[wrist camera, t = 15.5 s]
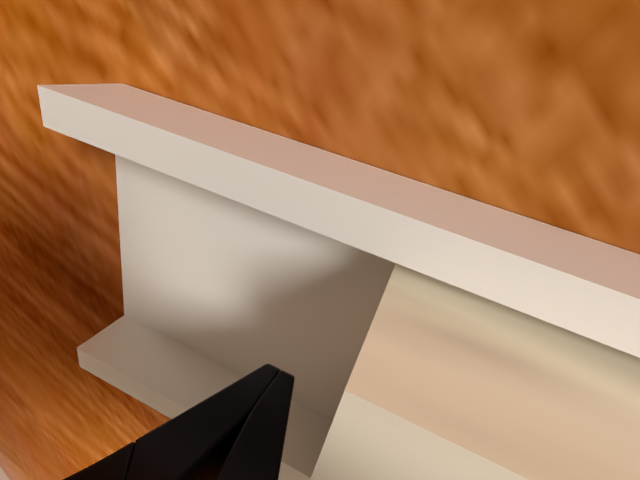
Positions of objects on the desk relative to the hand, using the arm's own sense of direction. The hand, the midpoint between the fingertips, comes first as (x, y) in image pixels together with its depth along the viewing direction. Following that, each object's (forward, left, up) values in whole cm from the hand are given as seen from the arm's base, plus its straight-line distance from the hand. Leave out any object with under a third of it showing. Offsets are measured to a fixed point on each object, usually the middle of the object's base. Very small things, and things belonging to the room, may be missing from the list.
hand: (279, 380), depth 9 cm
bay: (0, -1, -3) cm, 3 cm away
